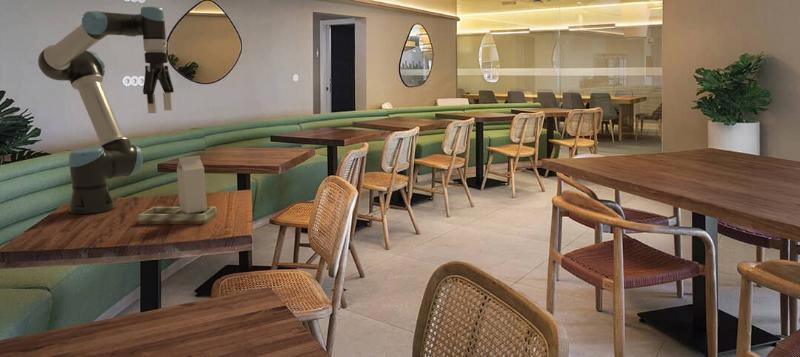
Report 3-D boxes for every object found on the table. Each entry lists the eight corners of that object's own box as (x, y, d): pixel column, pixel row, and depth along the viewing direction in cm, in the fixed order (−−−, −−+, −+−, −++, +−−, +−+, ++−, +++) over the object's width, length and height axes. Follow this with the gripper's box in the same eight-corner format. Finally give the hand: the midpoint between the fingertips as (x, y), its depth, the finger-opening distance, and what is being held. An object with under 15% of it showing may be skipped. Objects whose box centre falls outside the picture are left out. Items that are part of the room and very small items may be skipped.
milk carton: (207, 210, 208) (203, 156, 204) (186, 214, 203) (182, 158, 200) (199, 207, 213) (196, 154, 210) (179, 210, 209) (175, 156, 205)
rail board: (138, 224, 203) (137, 214, 203) (153, 215, 215) (152, 206, 214) (205, 223, 203) (204, 214, 202) (216, 215, 214) (216, 206, 214)
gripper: (150, 50, 200) (156, 114, 204) (179, 52, 225) (184, 109, 229) (128, 51, 201) (134, 114, 204) (160, 52, 225) (164, 109, 229)
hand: (160, 111), depth 217 cm, fingers open, 13 cm apart
